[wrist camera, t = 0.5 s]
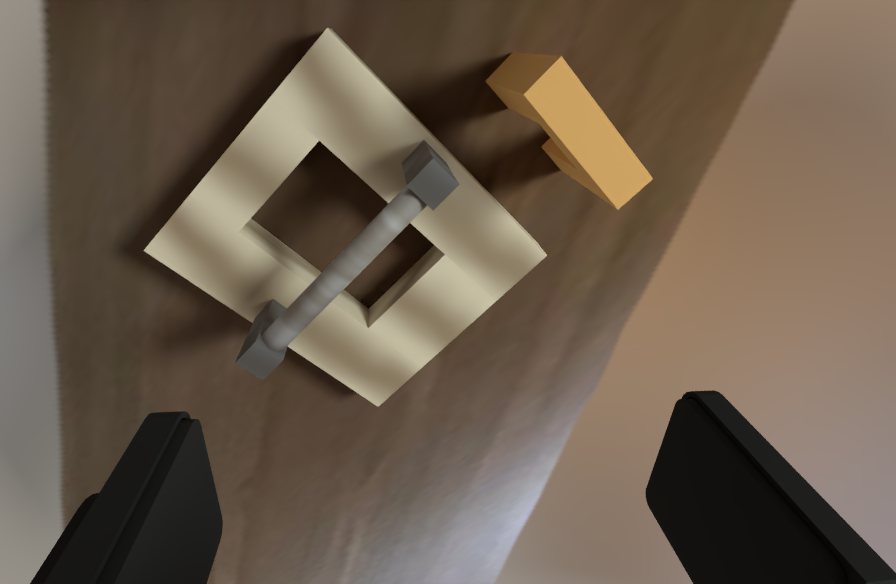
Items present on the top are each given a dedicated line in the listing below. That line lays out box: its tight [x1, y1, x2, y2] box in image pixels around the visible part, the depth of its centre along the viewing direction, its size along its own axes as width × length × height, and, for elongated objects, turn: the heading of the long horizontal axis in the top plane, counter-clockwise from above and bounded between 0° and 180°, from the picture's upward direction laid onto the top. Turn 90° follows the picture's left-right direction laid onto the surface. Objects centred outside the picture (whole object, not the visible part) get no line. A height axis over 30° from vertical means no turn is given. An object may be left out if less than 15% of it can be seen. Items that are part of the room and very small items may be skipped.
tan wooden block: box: [485, 53, 653, 209], centre depth 29 cm, size 2×8×9 cm, turn 44°
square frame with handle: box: [144, 28, 547, 406], centre depth 32 cm, size 18×20×8 cm
